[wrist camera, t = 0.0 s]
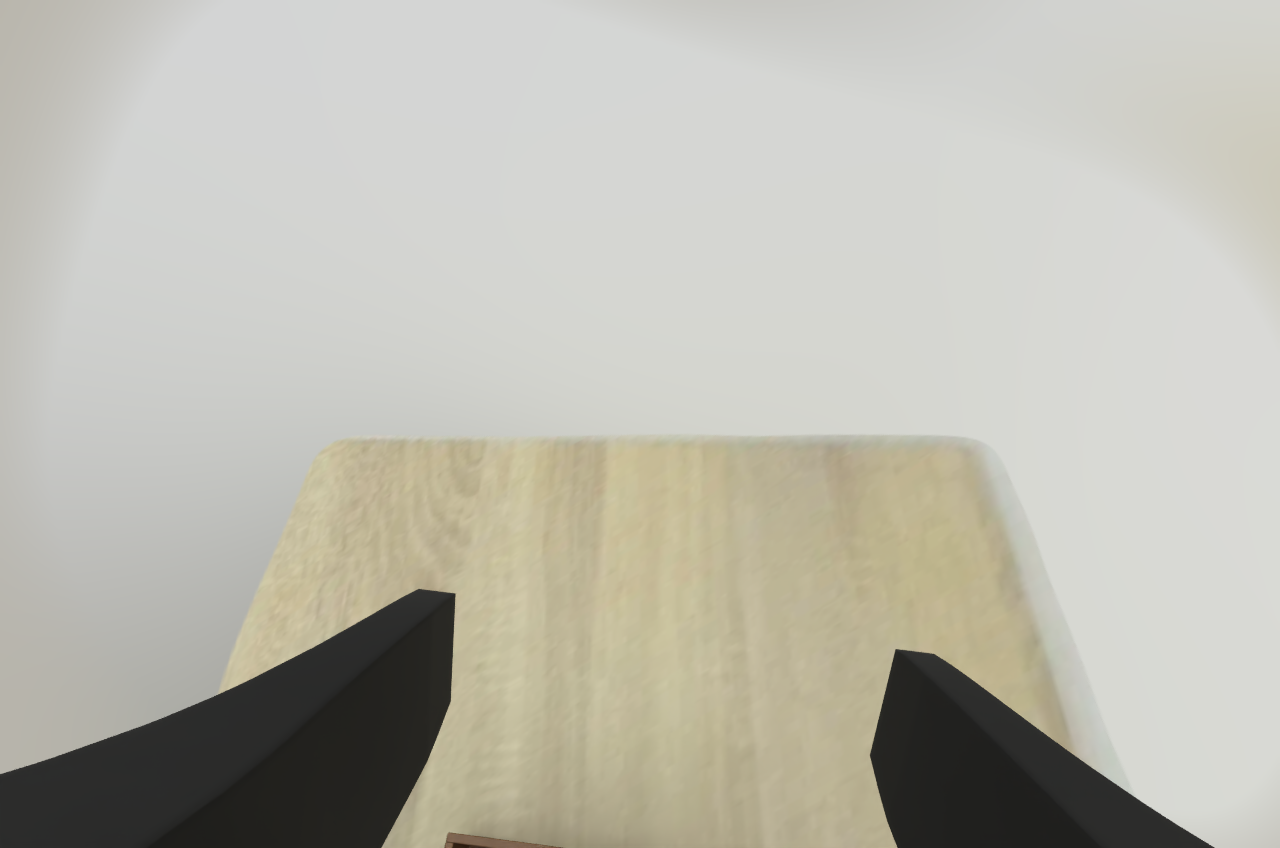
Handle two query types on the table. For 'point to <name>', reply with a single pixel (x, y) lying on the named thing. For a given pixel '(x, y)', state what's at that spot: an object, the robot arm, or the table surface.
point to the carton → (485, 842)
